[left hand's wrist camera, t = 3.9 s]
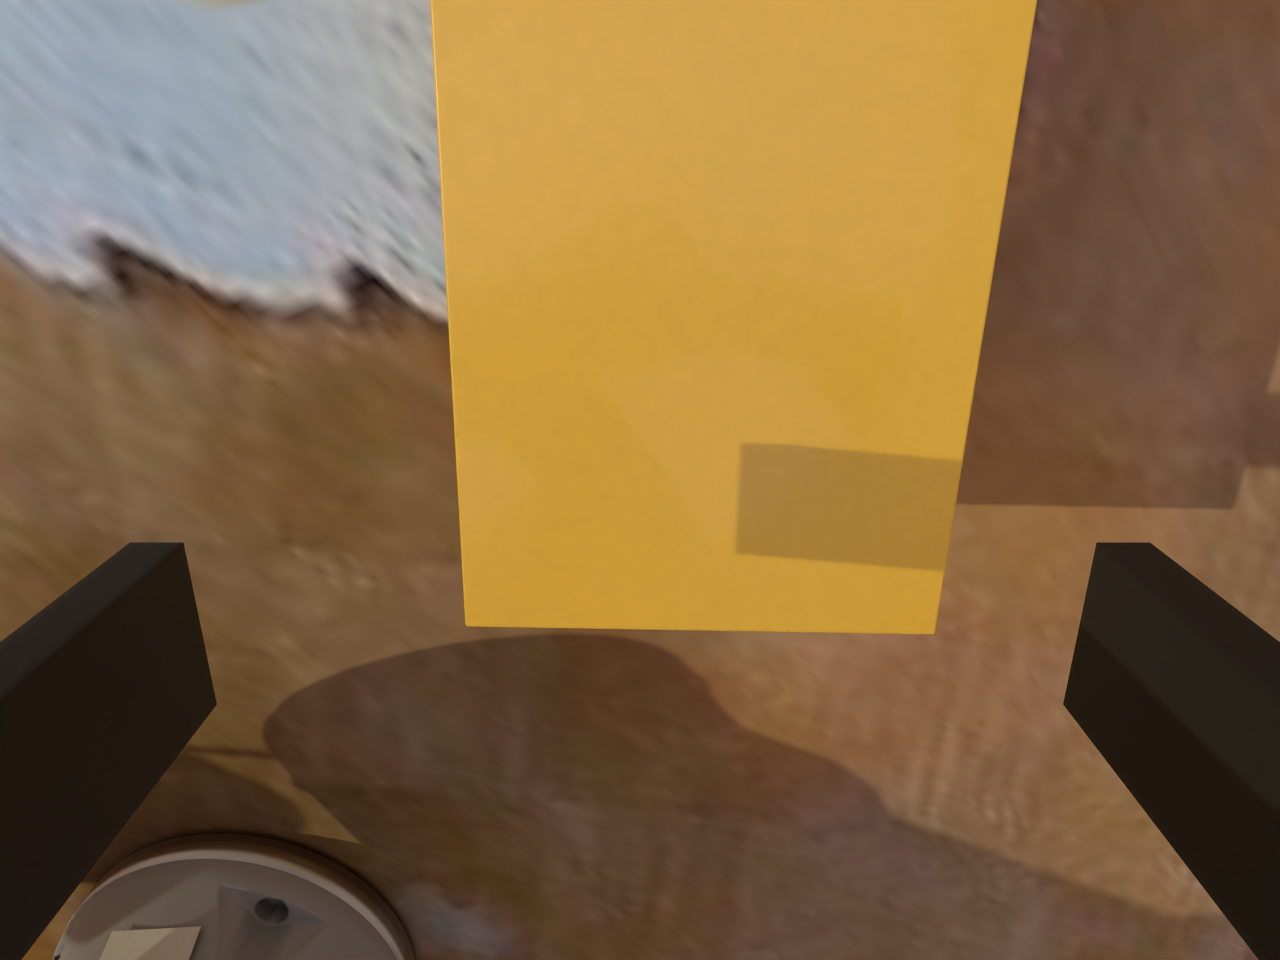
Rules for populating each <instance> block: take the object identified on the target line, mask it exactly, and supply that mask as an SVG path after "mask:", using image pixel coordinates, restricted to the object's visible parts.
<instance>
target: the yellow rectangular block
mask: <svg viewBox="0 0 1280 960" xmlns="http://www.w3.org/2000/svg"><path fill="white" fill-rule="evenodd" d="M1036 6H1037V0H430V7H431V25H432V43H433V60H434V78H435V96H436V113H437V131H438V149H439V166H440V184H441V202H442V219H443V237H444V255H445V272H446V290H447V308H448V326H449V343H450V361H451V379H452V396H453V414H454V432H455V449H456V467H457V485H458V502H459V520H460V538H461V555H462V573H463V591H464V608H465V624H466V626H476V627H534V628H593V629H651V630H710V631H769V632H827V633H886V634H935V630H936V624H937V617H938V611H939V605H940V599H941V593H942V586H943V580H944V574H945V568H946V562H947V556H948V549H949V543H950V537H951V531H952V525H953V518H954V512H955V506H956V500H957V494H958V488H959V481H960V475H961V469H962V463H963V457H964V450H965V444H966V438H967V432H968V426H969V420H970V413H971V407H972V401H973V395H974V389H975V383H976V376H977V370H978V364H979V358H980V352H981V345H982V339H983V333H984V327H985V321H986V315H987V308H988V302H989V296H990V290H991V284H992V277H993V271H994V265H995V259H996V253H997V247H998V240H999V234H1000V228H1001V222H1002V216H1003V210H1004V203H1005V197H1006V191H1007V185H1008V179H1009V172H1010V166H1011V160H1012V154H1013V148H1014V142H1015V135H1016V129H1017V123H1018V117H1019V111H1020V104H1021V98H1022V92H1023V86H1024V80H1025V74H1026V67H1027V61H1028V55H1029V49H1030V43H1031V36H1032V30H1033V24H1034V18H1035V12H1036Z"/></svg>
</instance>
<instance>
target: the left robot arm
mask: <svg viewBox="0 0 1280 960" xmlns="http://www.w3.org/2000/svg"><path fill="white" fill-rule="evenodd" d="M216 705H217V703H216V699H215V694H214V689H213V684H212V679H211V674H210V669H209V665H208V660H207V655H206V650H205V645H204V640H203V636H202V631H201V626H200V621H199V616H198V611H197V606H196V602H195V597H194V592H193V587H192V582H191V577H190V573H189V568H188V563H187V558H186V553H185V548H184V543H129V544H128V545H126V546H125V547H124V548H122V549H121V550H120V551H119V552H117V553H116V554H115V555H113V556H112V557H111V558H109V559H108V560H107V561H106V562H104V563H103V564H102V565H100V566H99V567H98V568H96V569H95V570H94V571H92V572H91V573H90V574H89V575H87V576H86V577H85V578H83V579H82V580H81V581H79V582H78V583H77V584H76V585H74V586H73V587H72V588H70V589H69V590H68V591H66V592H65V593H64V594H63V595H61V596H60V597H59V598H57V599H56V600H55V601H53V602H52V603H51V604H49V605H48V606H47V607H46V608H44V609H43V610H42V611H40V612H39V613H38V614H36V615H35V616H34V617H33V618H31V619H30V620H29V621H27V622H26V623H25V624H23V625H22V626H21V627H20V628H18V629H17V630H16V631H14V632H13V633H12V634H10V635H9V636H8V637H7V638H5V639H4V640H3V641H1V642H0V960H21V959H22V958H23V957H24V955H25V954H26V953H27V952H28V950H29V949H30V948H31V946H32V945H33V944H34V942H35V941H36V940H37V938H38V937H39V936H40V935H41V933H42V932H43V931H44V929H45V928H46V927H47V925H48V924H49V923H50V921H51V920H52V919H53V918H54V916H55V915H56V914H57V912H58V911H59V910H60V908H61V907H62V906H63V905H64V903H65V902H66V901H67V899H68V898H69V897H70V895H71V894H72V893H73V891H74V890H75V889H76V888H77V886H78V885H79V884H80V882H81V881H82V880H83V878H84V877H85V876H86V874H87V873H88V872H89V871H90V869H91V868H92V867H93V865H94V864H95V863H96V861H97V860H98V859H99V857H100V856H101V855H102V854H103V852H104V851H105V850H106V848H107V847H108V846H109V844H110V843H111V842H112V840H113V839H114V838H115V837H116V835H117V834H118V833H119V831H120V830H121V829H122V827H123V826H124V825H125V823H126V822H127V821H128V820H129V818H130V817H131V816H132V814H133V813H134V812H135V810H136V809H137V808H138V807H139V805H140V804H141V803H142V801H143V800H144V799H145V797H146V796H147V795H148V793H149V792H150V791H151V790H152V788H153V787H154V786H155V784H156V783H157V782H158V780H159V779H160V778H161V776H162V775H163V774H164V773H165V771H166V770H167V769H168V767H169V766H170V765H171V763H172V762H173V761H174V759H175V758H176V757H177V756H178V754H179V753H180V752H181V750H182V749H183V748H184V746H185V745H186V744H187V742H188V741H189V740H190V739H191V737H192V736H193V735H194V733H195V732H196V731H197V729H198V728H199V727H200V725H201V724H202V723H203V722H204V720H205V719H206V718H207V716H208V715H209V714H210V712H211V711H212V710H213V708H214V707H215V706H216ZM1063 705H1064V706H1065V707H1066V708H1067V710H1068V711H1069V712H1070V714H1071V715H1072V716H1073V718H1074V719H1075V720H1076V722H1077V723H1078V724H1079V725H1080V727H1081V728H1082V729H1083V731H1084V732H1085V733H1086V735H1087V736H1088V737H1089V739H1090V740H1091V741H1092V742H1093V744H1094V745H1095V746H1096V748H1097V749H1098V750H1099V752H1100V753H1101V754H1102V756H1103V757H1104V758H1105V759H1106V761H1107V762H1108V763H1109V765H1110V766H1111V767H1112V769H1113V770H1114V771H1115V773H1116V774H1117V775H1118V776H1119V778H1120V779H1121V780H1122V782H1123V783H1124V784H1125V786H1126V787H1127V788H1128V790H1129V791H1130V792H1131V793H1132V795H1133V796H1134V797H1135V799H1136V800H1137V801H1138V803H1139V804H1140V805H1141V807H1142V808H1143V809H1144V810H1145V812H1146V813H1147V814H1148V816H1149V817H1150V818H1151V820H1152V821H1153V822H1154V823H1155V825H1156V826H1157V827H1158V829H1159V830H1160V831H1161V833H1162V834H1163V835H1164V837H1165V838H1166V839H1167V840H1168V842H1169V843H1170V844H1171V846H1172V847H1173V848H1174V850H1175V851H1176V852H1177V854H1178V855H1179V856H1180V857H1181V859H1182V860H1183V861H1184V863H1185V864H1186V865H1187V867H1188V868H1189V869H1190V871H1191V872H1192V873H1193V874H1194V876H1195V877H1196V878H1197V880H1198V881H1199V882H1200V884H1201V885H1202V886H1203V888H1204V889H1205V890H1206V891H1207V893H1208V894H1209V895H1210V897H1211V898H1212V899H1213V901H1214V902H1215V903H1216V905H1217V906H1218V907H1219V908H1220V910H1221V911H1222V912H1223V914H1224V915H1225V916H1226V918H1227V919H1228V920H1229V921H1230V923H1231V924H1232V925H1233V927H1234V928H1235V929H1236V931H1237V932H1238V933H1239V935H1240V936H1241V937H1242V938H1243V940H1244V941H1245V942H1246V944H1247V945H1248V946H1249V948H1250V949H1251V950H1252V952H1253V953H1254V954H1255V955H1256V957H1257V958H1258V959H1259V960H1280V642H1279V641H1277V640H1276V639H1275V638H1273V637H1272V636H1271V635H1270V634H1268V633H1267V632H1266V631H1264V630H1263V629H1262V628H1260V627H1259V626H1258V625H1257V624H1255V623H1254V622H1253V621H1251V620H1250V619H1249V618H1247V617H1246V616H1245V615H1244V614H1242V613H1241V612H1240V611H1238V610H1237V609H1236V608H1234V607H1233V606H1232V605H1231V604H1229V603H1228V602H1227V601H1225V600H1224V599H1223V598H1221V597H1220V596H1219V595H1217V594H1216V593H1215V592H1214V591H1212V590H1211V589H1210V588H1208V587H1207V586H1206V585H1204V584H1203V583H1202V582H1201V581H1199V580H1198V579H1197V578H1195V577H1194V576H1193V575H1191V574H1190V573H1189V572H1188V571H1186V570H1185V569H1184V568H1182V567H1181V566H1180V565H1178V564H1177V563H1176V562H1174V561H1173V560H1172V559H1171V558H1169V557H1168V556H1167V555H1165V554H1164V553H1163V552H1161V551H1160V550H1159V549H1158V548H1156V547H1155V546H1154V545H1152V544H1151V543H1096V548H1095V553H1094V558H1093V563H1092V568H1091V573H1090V577H1089V582H1088V587H1087V592H1086V597H1085V602H1084V606H1083V611H1082V616H1081V621H1080V626H1079V631H1078V636H1077V640H1076V645H1075V650H1074V655H1073V660H1072V665H1071V669H1070V674H1069V679H1068V684H1067V689H1066V694H1065V699H1064V703H1063ZM53 960H415V958H414V954H413V949H412V946H411V944H410V941H409V938H408V936H407V934H406V932H405V930H404V928H403V926H402V924H401V923H400V921H399V920H398V918H397V917H396V915H395V913H394V912H393V911H392V910H391V908H390V907H389V906H388V905H387V903H386V902H385V901H384V900H383V899H382V898H381V897H380V896H379V895H378V894H377V893H376V892H375V891H374V890H373V889H372V888H371V887H369V886H368V885H367V884H366V883H365V882H364V881H362V880H361V879H360V878H358V877H357V876H355V875H354V874H353V873H351V872H350V871H348V870H347V869H345V868H343V867H342V866H340V865H338V864H337V863H335V862H333V861H331V860H329V859H327V858H325V857H323V856H321V855H319V854H317V853H314V852H312V851H309V850H307V849H304V848H302V847H299V846H296V845H292V844H289V843H286V842H282V841H278V840H274V839H270V838H265V837H259V836H253V835H244V834H232V833H211V834H197V835H190V836H183V837H178V838H174V839H170V840H165V841H162V842H159V843H156V844H153V845H150V846H148V847H146V848H143V849H141V850H139V851H137V852H135V853H133V854H131V855H130V856H128V857H126V858H124V859H123V860H121V861H120V862H119V863H117V864H116V865H115V866H113V867H112V868H111V869H110V870H109V871H108V872H106V873H105V874H104V875H103V876H102V877H101V878H100V880H99V881H98V882H97V883H96V885H95V886H94V887H93V888H92V890H91V891H90V892H89V894H88V895H87V896H86V898H85V899H84V901H83V902H82V903H81V905H80V906H79V907H78V909H77V910H76V911H75V913H74V914H73V916H72V918H71V919H70V921H69V923H68V924H67V927H66V929H65V931H64V933H63V935H62V936H61V938H60V941H59V943H58V945H57V947H56V950H55V953H54V956H53Z"/></svg>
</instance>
